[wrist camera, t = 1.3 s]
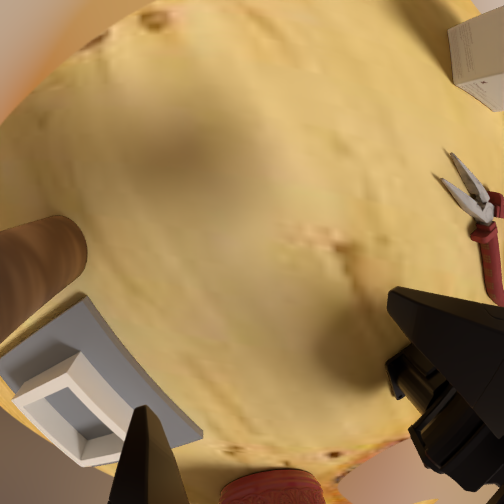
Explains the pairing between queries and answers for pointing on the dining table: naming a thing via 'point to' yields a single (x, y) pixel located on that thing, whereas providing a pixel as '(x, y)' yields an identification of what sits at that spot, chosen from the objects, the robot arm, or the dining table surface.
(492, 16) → the supplement box
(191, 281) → the dining table surface
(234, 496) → the canister
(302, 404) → the dining table surface
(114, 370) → the docking plate
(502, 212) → the pliers
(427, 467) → the robot arm
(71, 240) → the brown upright cylinder
